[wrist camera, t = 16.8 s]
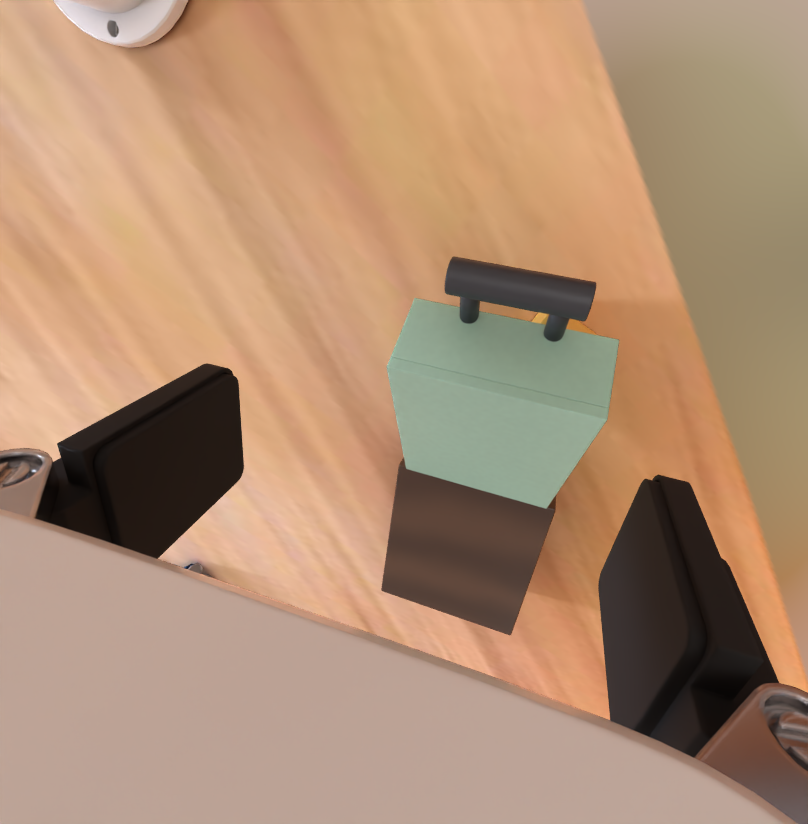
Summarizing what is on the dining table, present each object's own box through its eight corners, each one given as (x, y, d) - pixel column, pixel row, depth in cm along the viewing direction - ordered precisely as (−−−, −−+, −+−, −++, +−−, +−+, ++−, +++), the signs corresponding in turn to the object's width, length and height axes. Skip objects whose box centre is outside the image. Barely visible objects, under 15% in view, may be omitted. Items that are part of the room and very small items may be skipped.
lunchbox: (405, 468, 33) (425, 413, 35) (546, 509, 31) (558, 447, 33) (377, 321, 19) (412, 240, 21) (636, 378, 17) (648, 282, 18)
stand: (417, 432, 38) (398, 465, 33) (557, 469, 35) (555, 509, 31) (399, 550, 44) (380, 591, 39) (516, 588, 41) (510, 636, 37)
